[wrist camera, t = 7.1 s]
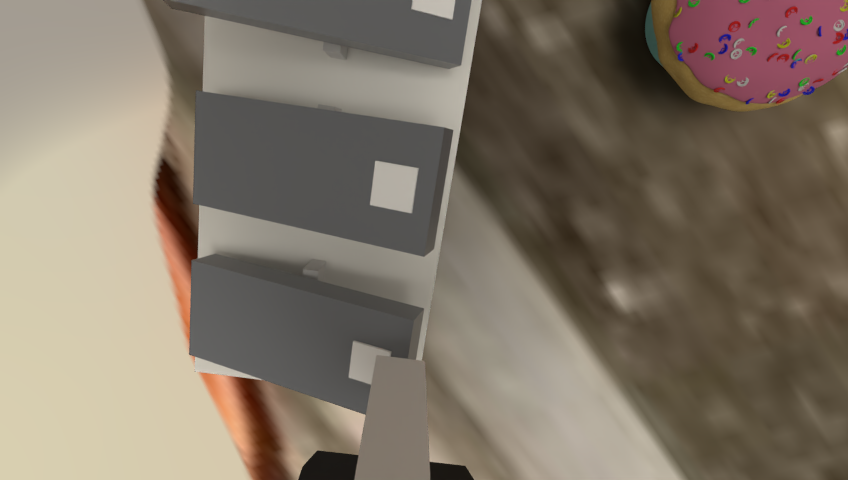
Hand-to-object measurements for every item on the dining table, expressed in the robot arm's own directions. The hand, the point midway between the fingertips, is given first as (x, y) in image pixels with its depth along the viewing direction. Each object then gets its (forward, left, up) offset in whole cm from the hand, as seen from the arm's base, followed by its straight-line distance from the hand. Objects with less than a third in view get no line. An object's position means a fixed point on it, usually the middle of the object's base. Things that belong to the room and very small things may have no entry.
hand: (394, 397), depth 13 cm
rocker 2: (-6, -4, -3) cm, 8 cm away
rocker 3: (0, -4, -3) cm, 5 cm away
